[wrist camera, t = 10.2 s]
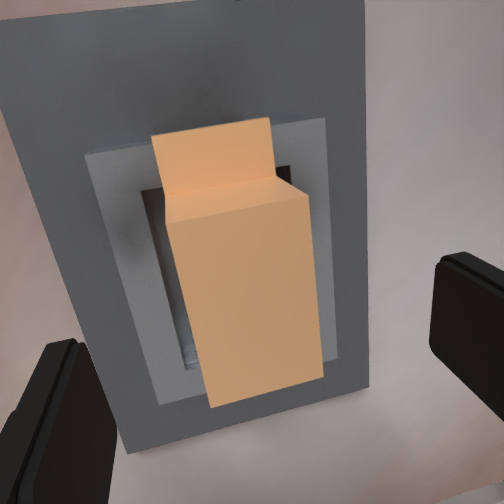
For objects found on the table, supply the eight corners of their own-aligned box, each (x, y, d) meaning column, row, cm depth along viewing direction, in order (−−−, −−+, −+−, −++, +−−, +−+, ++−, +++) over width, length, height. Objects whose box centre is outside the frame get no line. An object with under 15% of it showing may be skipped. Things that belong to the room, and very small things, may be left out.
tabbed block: (153, 132, 15) (146, 146, 9) (252, 115, 15) (302, 120, 10) (204, 350, 19) (221, 450, 13) (280, 330, 19) (327, 419, 14)
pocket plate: (-18, 29, 13) (-65, 8, 10) (352, -10, 15) (393, -35, 12) (129, 439, 21) (123, 489, 18) (360, 376, 23) (387, 412, 20)
